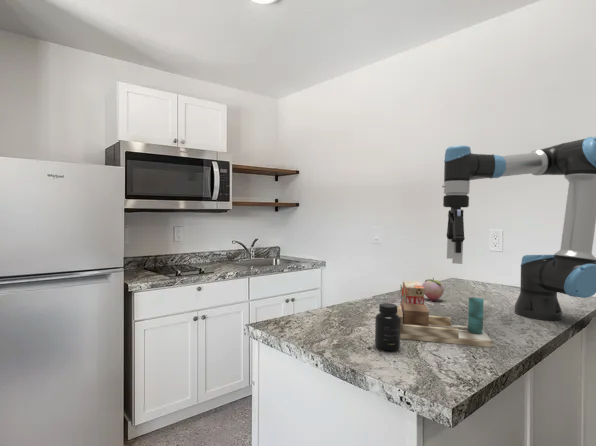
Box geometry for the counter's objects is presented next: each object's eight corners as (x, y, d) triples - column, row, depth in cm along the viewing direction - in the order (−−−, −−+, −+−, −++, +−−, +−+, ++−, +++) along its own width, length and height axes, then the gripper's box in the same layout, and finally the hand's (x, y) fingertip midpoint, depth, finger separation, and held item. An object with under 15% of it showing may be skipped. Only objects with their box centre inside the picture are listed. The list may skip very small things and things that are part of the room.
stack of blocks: (400, 306, 148) (400, 276, 147) (416, 307, 146) (416, 277, 146) (404, 321, 127) (405, 286, 126) (423, 322, 125) (424, 287, 125)
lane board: (479, 331, 116) (480, 311, 116) (492, 347, 103) (493, 324, 102) (395, 324, 122) (396, 305, 122) (397, 338, 109) (397, 316, 108)
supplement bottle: (371, 343, 104) (372, 302, 103) (394, 343, 104) (395, 301, 104) (379, 352, 97) (380, 308, 97) (403, 352, 97) (405, 308, 97)
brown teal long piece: (478, 327, 114) (479, 296, 114) (486, 337, 105) (487, 302, 105) (402, 321, 119) (403, 291, 119) (404, 329, 110) (404, 297, 110)
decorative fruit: (448, 301, 158) (448, 278, 157) (436, 303, 153) (437, 280, 153) (429, 297, 165) (430, 275, 165) (418, 299, 161) (418, 276, 160)
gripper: (439, 196, 129) (437, 256, 130) (448, 192, 105) (446, 265, 106) (462, 197, 127) (460, 257, 128) (476, 192, 103) (474, 266, 104)
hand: (454, 261), depth 117 cm, fingers open, 13 cm apart
